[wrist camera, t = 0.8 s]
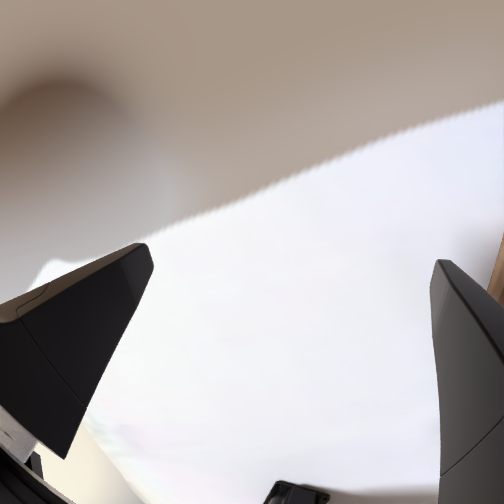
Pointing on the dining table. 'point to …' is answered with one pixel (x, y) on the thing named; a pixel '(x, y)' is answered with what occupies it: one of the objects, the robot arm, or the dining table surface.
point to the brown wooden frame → (498, 277)
